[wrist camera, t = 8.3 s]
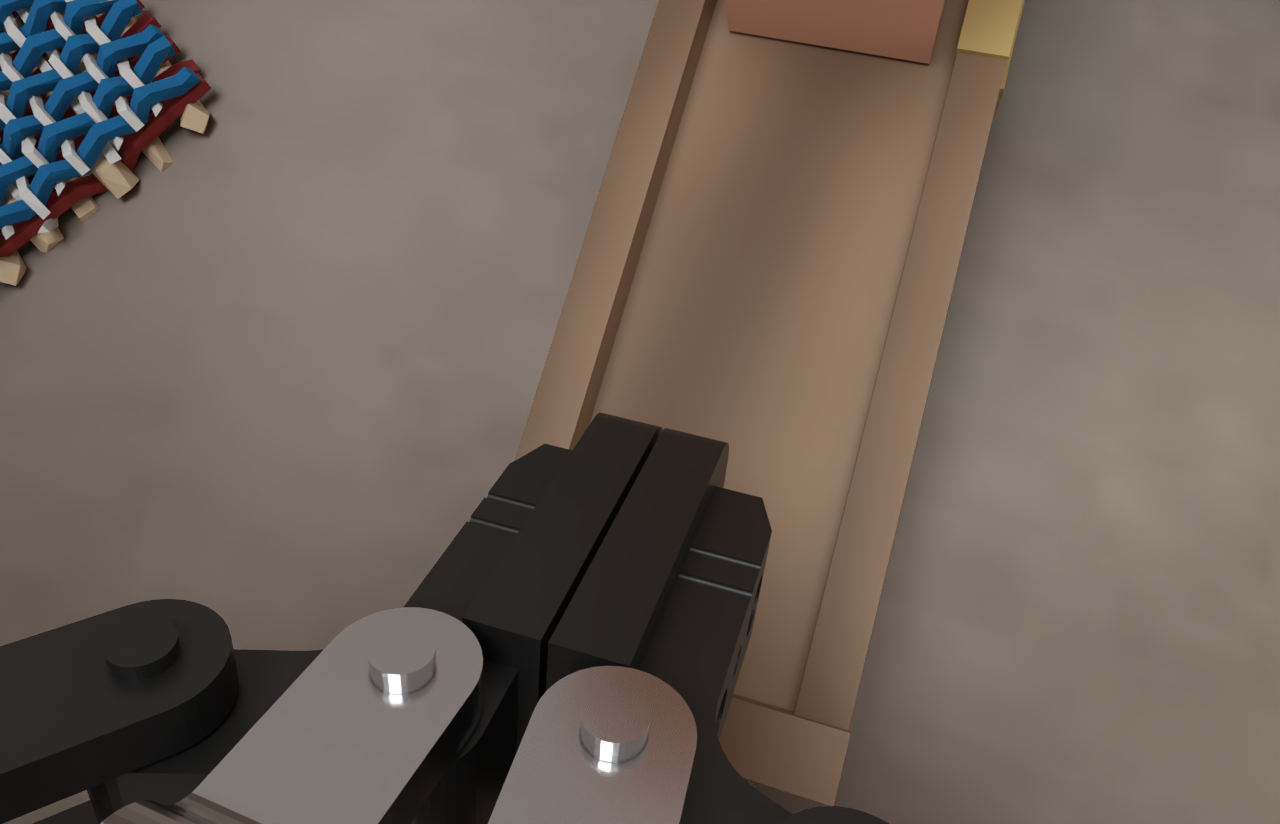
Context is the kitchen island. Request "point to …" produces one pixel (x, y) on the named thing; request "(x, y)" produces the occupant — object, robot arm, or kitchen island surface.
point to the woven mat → (81, 111)
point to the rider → (845, 24)
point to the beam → (784, 318)
